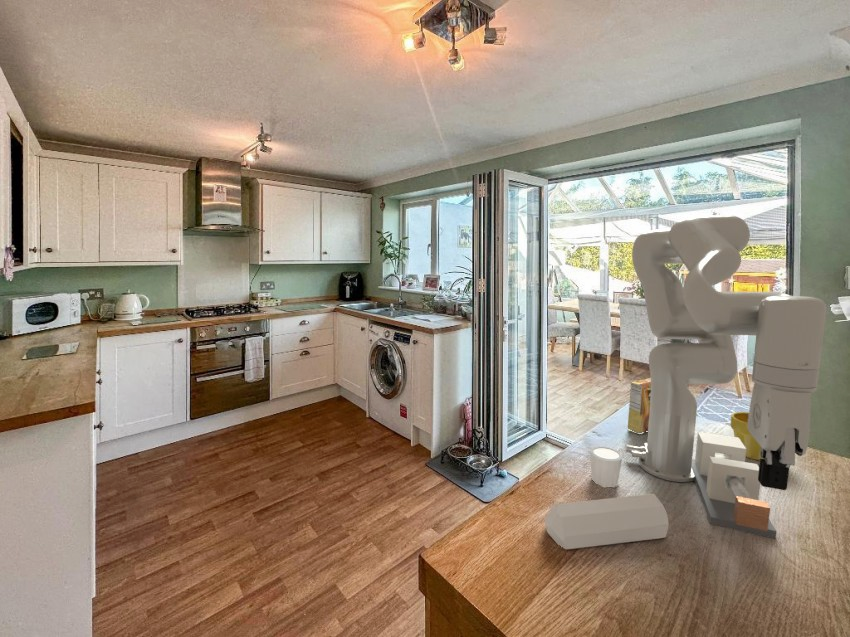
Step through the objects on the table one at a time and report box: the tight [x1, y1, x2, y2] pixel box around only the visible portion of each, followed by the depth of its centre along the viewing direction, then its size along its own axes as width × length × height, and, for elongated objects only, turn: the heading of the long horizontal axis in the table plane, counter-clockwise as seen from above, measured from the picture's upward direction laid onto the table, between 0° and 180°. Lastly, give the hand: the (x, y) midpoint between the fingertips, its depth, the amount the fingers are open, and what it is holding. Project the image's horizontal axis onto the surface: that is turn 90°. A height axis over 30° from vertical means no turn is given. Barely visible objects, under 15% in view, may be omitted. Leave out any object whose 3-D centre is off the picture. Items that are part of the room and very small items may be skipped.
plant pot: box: [730, 411, 765, 461], centre depth 102 cm, size 10×10×10 cm
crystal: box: [544, 493, 669, 550], centre depth 74 cm, size 7×7×24 cm
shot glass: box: [589, 446, 623, 488], centre depth 91 cm, size 7×7×7 cm
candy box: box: [627, 377, 651, 433], centre depth 117 cm, size 9×4×15 cm, turn 116°
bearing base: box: [691, 431, 777, 540], centre depth 85 cm, size 24×10×10 cm, turn 154°
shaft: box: [723, 458, 771, 531], centre depth 79 cm, size 20×4×4 cm, turn 154°
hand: (771, 485), depth 63 cm, fingers closed
